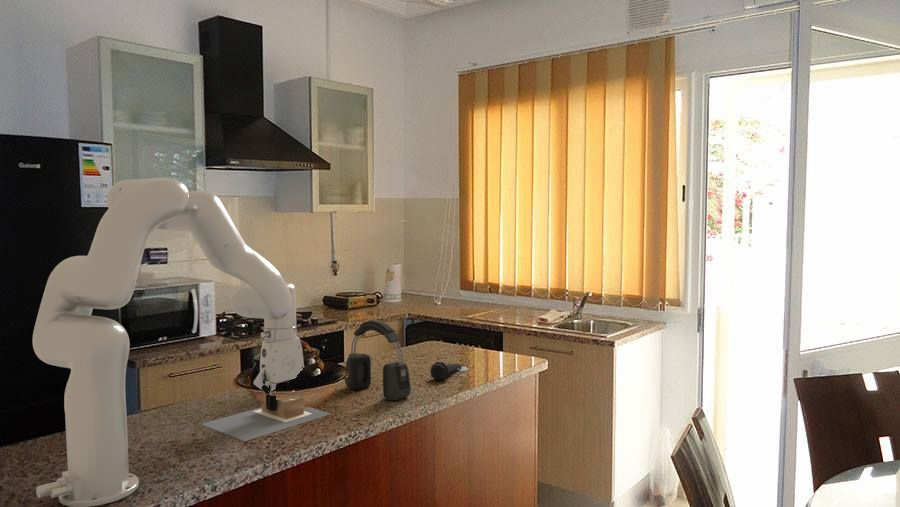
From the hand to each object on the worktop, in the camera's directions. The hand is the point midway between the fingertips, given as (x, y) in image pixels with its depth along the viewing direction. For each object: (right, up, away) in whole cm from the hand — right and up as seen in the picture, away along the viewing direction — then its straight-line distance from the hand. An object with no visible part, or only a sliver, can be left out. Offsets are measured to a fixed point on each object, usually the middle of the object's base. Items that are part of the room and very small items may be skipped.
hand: (282, 406), depth 159 cm
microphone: (+41, 0, +38) cm, 56 cm away
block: (0, -2, 0) cm, 2 cm away
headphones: (+21, -1, +19) cm, 28 cm away
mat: (-2, -3, -4) cm, 6 cm away
